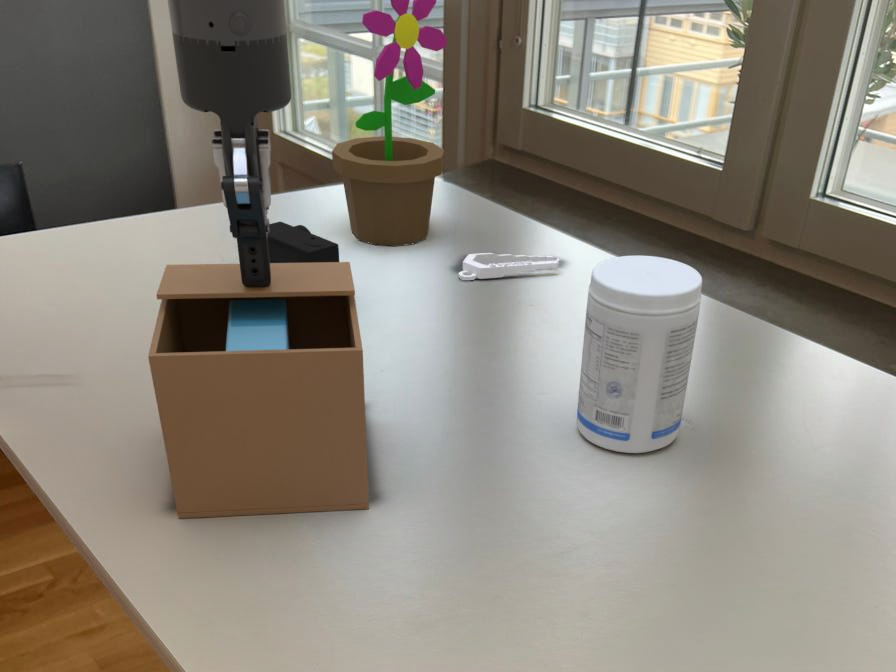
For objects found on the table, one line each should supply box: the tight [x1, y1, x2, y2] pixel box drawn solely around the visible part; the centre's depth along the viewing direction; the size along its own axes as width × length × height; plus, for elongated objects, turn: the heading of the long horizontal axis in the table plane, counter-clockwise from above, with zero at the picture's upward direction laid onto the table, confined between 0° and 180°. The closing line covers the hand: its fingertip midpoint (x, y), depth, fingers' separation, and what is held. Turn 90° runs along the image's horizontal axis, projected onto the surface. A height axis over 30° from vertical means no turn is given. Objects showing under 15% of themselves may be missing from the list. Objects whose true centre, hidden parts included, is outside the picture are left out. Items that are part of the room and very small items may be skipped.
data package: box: [226, 299, 290, 351], centre depth 81 cm, size 12×4×12 cm, turn 9°
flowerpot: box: [331, 0, 448, 246], centre depth 123 cm, size 14×14×30 cm
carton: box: [147, 295, 370, 519], centre depth 81 cm, size 15×16×14 cm
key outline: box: [458, 252, 560, 281], centre depth 123 cm, size 13×5×2 cm, turn 106°
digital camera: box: [267, 221, 340, 263], centre depth 112 cm, size 10×5×7 cm, turn 46°
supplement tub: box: [576, 255, 703, 454], centre depth 87 cm, size 10×10×15 cm
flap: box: [156, 261, 356, 300], centre depth 79 cm, size 15×8×1 cm, turn 99°
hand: (257, 283), depth 77 cm, fingers closed
